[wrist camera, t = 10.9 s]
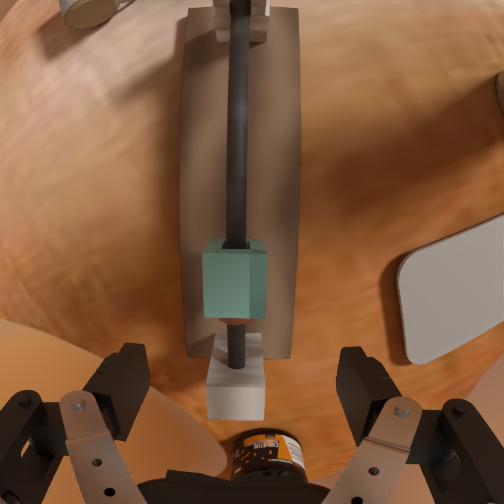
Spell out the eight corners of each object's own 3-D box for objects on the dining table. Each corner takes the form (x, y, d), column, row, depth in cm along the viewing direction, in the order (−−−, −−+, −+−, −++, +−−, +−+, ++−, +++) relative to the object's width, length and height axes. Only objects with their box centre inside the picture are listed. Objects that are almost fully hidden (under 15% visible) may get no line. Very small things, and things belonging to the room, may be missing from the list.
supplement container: (306, 425, 39) (320, 488, 28) (294, 466, 42) (302, 523, 30) (233, 423, 39) (229, 489, 27) (230, 464, 41) (227, 523, 30)
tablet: (523, 296, 36) (532, 300, 34) (401, 363, 38) (408, 371, 35) (521, 201, 32) (531, 203, 30) (386, 255, 34) (394, 260, 32)
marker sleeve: (263, 239, 28) (267, 253, 22) (262, 292, 29) (265, 318, 23) (211, 238, 28) (202, 253, 22) (212, 291, 29) (204, 317, 23)
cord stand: (296, 14, 27) (314, -43, 16) (288, 355, 36) (302, 418, 25) (190, 14, 27) (169, -42, 16) (189, 353, 36) (170, 415, 25)
